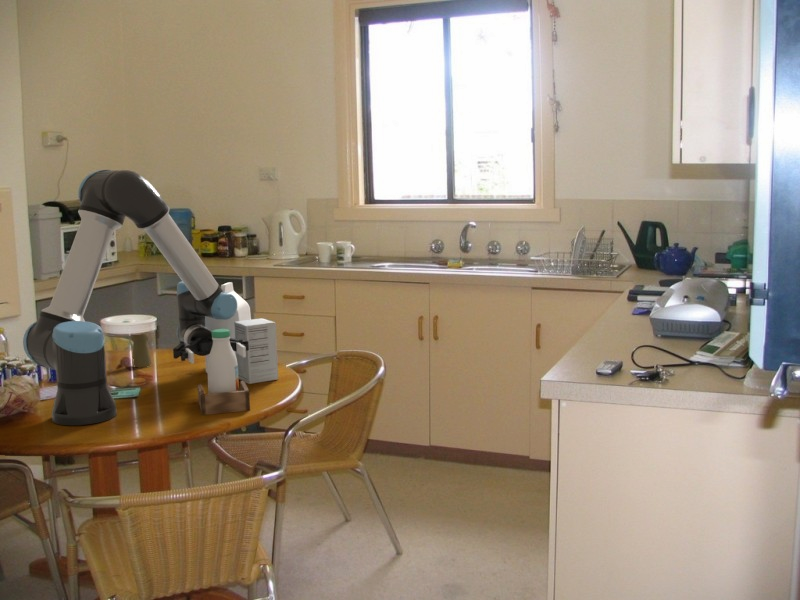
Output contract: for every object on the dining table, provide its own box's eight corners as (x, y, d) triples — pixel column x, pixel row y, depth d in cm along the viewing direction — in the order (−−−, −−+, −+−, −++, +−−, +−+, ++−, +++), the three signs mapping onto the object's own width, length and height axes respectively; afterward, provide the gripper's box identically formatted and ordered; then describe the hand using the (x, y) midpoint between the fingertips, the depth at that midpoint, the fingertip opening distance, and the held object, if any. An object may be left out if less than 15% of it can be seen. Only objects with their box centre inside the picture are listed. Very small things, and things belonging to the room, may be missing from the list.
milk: (242, 373, 265) (238, 286, 261) (205, 372, 267) (201, 286, 263) (255, 364, 277) (251, 280, 273) (219, 363, 279) (215, 280, 275)
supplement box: (279, 379, 257) (276, 322, 254) (249, 384, 252) (246, 326, 249) (265, 373, 265) (263, 317, 262) (236, 377, 260) (233, 320, 257)
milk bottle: (232, 411, 226) (229, 333, 223) (204, 409, 228) (200, 332, 224) (244, 402, 234) (240, 327, 230) (216, 401, 235) (212, 326, 232)
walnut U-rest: (201, 414, 223) (200, 395, 222) (198, 403, 234) (197, 384, 233) (250, 410, 227) (249, 391, 226) (245, 399, 237) (244, 380, 236)
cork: (129, 365, 278) (126, 330, 276) (147, 362, 281) (145, 328, 280) (136, 369, 273) (133, 333, 271) (155, 366, 277) (152, 331, 275)
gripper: (244, 348, 257) (265, 363, 238) (155, 358, 246) (170, 375, 228) (243, 322, 256) (264, 336, 237) (154, 331, 245) (169, 346, 226)
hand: (218, 355), depth 232 cm, fingers open, 13 cm apart
